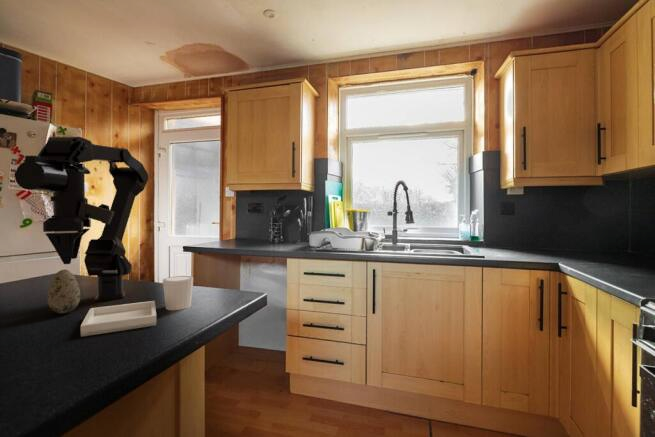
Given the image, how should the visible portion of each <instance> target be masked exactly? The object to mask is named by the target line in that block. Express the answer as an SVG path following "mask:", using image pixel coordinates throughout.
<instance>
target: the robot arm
mask: <svg viewBox="0 0 655 437" xmlns="http://www.w3.org/2000/svg"><path fill="white" fill-rule="evenodd" d="M47 138H48V140H47V141H46V143H45V144H44V146H43V147H42V149H41V150H40V151H39V153H38V154H37V155H25V156H24V162H22V163H20V164H19V165H18V166H17V168H16V170H15V172H14V179H15V181H16V183H17V185H18V186H19V187H21V188H22V189H24V190H28V191H38V192H39V191H40V192H41V191H43V192H52V196H50V202H52V211H53V212H52V213H53V214H52V215H50V216H51V217H49V218H47V219H46V220H45V221H44V222H43V223H42V227H43V231H42V232H44V233H45V236H46V237H47V238H48V240H49V241H50V243H51V245H52V246H53V248H54V249H55V251H56V253H57V254H58V256H59V258H60V260H61V261H62V264H64V265H70V264H71V262H72V260H73V259H77V258H78V254H79V250H80V246H81V243H82V242H81V241H82V238H83V236H84V235H85V234H87V232H89V231H90V229H91V227H92V220H94V221H98V222H101V223H102V224H104V227H103V228H102V229H103V230H102V232H101V235H100V237H98V238H97V239H95V238H92V239H90V240H89V241H88V246H87V249H86V250H85V252H84V255H85V256H84V259H83V261H84V265H85V269H86V271H87V275H88V277H93V276H95V277H96V276H97V277H96V280H97V282H96V283H97V286H96V287H97V294H96V295H95V298H94V302H97V301H107V300H116V299H124V298H125V295H126V290H124V287H123V285H124V284H123V276H127V275H130V273H131V272H132V264H131V263H130V261H129V259H128V258H127V257H126V248H125V245H124V243H123V239H124V235H125V232H126V230H127V229H126V228H127V225H128V223H129V219H130V215H131V211H132V209H133V205H134V203H135V200H136V197H137V196H138V195H140V194H141V193H142V192H143V191H144V190H145V188H146V186H147V183H148V181H149V173H148V172H147V170H146V168H145V166H144V164H143V163H142V162H141V161H139V159H137V158H135V157H134V156H133V155H132V153H131V152H130V150H128V149H127V148H125V147H114V146H108V145H107V146H106V145H100V144H94V143H92V141H91V140H89V139H86V138H84V137H83V136H49V137H47ZM92 161H101V162H108V164H109V169H108V171H109V174H110V175H111V177H112V178H113V181H112V184H113V186H114V188H115V195H114V197H113V199H112V200H113V201H112V202H111V206H110V205H108V204H103V203H101V204H99V205H98V206H97V205H94V204H90V203H89V202H88V201H89V200H88V198H87V197H86V194H85V192H86V191H85V189H86V188H85V175H90V174H91V171H90V169H88V168H87V167H86V166H85V165H84V164H83V163H87V162H92ZM117 163H124V164H125V165H126V167H125V166H122V167H121V166H120V167H118V165H117Z"/></svg>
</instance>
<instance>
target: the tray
mask: <svg viewBox="0 0 655 437" xmlns="http://www.w3.org/2000/svg"><path fill="white" fill-rule="evenodd" d="M156 310H157V309H156V302H155V300H151V301H150V300H149V301H142V302H133V303H124V304H115V305H108V306H107V305H106V306H98V307H91V308H89V310H88V312H87V314H86V315H85V318H84V319H83V321H82V323H81V325H80V337H88V336H95V335H101V334H108V333H114V332H120V331H127V330H134V329H139V328H147V327H153V326H157V311H156Z"/></svg>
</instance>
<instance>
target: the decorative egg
mask: <svg viewBox="0 0 655 437" xmlns="http://www.w3.org/2000/svg"><path fill="white" fill-rule="evenodd" d="M46 297H47V298H46V299H47V306H49V309H50V310H52V311H53V312H55V313H57V314H67V313H70V312H72V311H73V310H74V309H76V308H77V307H78V305H79V303H80V301H81V288H80V285H79V283H78V281H77V278H76V276H75V275H74V274H73V273H72V272H71V271H70V270H68V269H61V270H59V271H57V272H56V273H55V274H54V276H53V277H52V280H51V281H50V284H49V287H48V291H47V296H46Z"/></svg>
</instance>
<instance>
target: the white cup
mask: <svg viewBox="0 0 655 437" xmlns="http://www.w3.org/2000/svg"><path fill="white" fill-rule="evenodd" d="M193 283H194V277H193V276H189V275H177V276H176V275H175V276H169V277H166V278H162V285H163V287H162V288H163V294H164V295H163V296H164V304H165V309H166V310H168V311H180V310H185V309H188V308H190V307H191V306H192V296H193V287H194V284H193Z"/></svg>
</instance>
